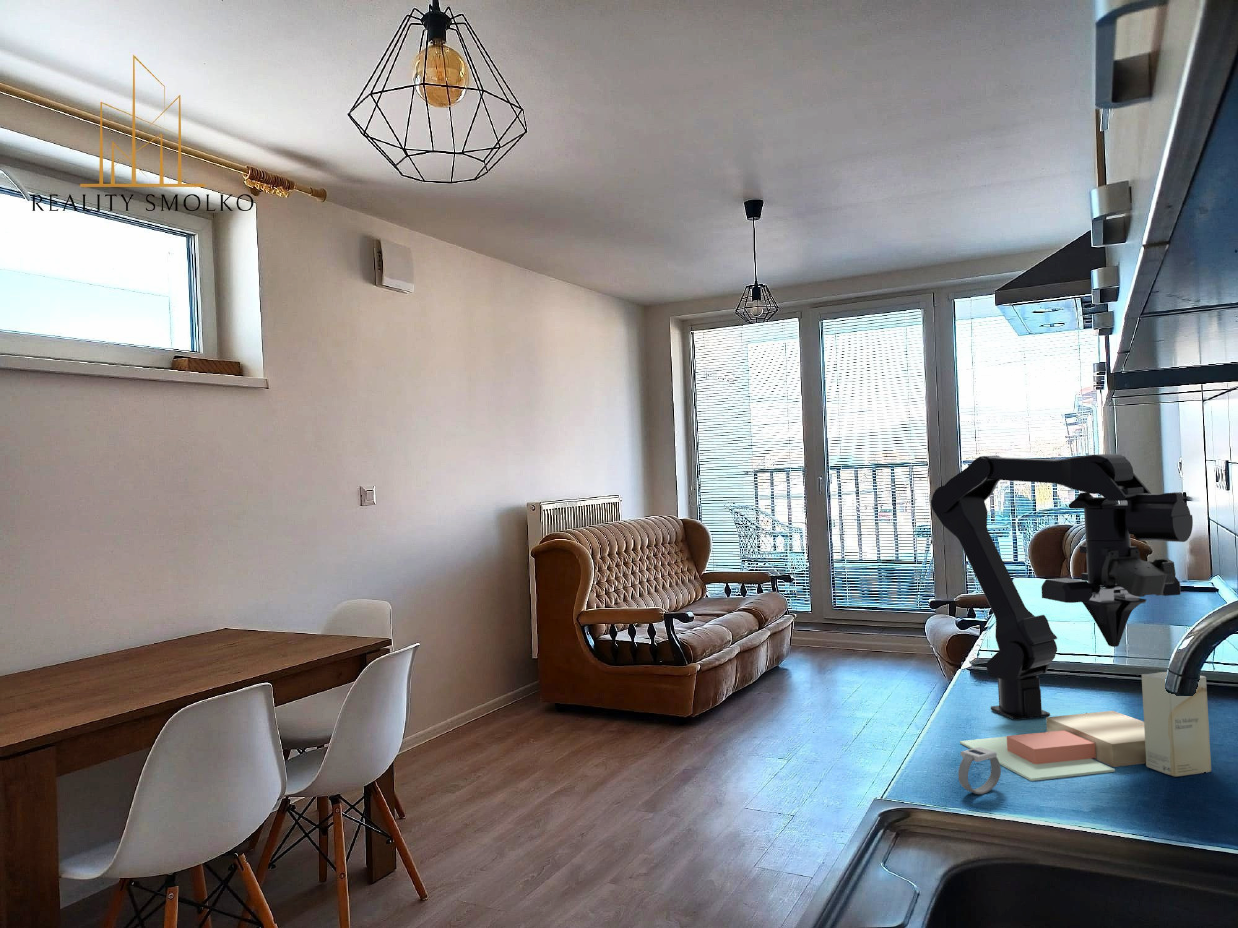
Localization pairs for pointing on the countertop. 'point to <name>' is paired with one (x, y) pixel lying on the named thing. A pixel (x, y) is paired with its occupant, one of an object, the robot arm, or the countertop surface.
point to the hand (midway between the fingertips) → (1113, 646)
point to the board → (1106, 735)
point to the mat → (1037, 770)
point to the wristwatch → (977, 756)
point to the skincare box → (1175, 728)
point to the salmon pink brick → (1051, 747)
